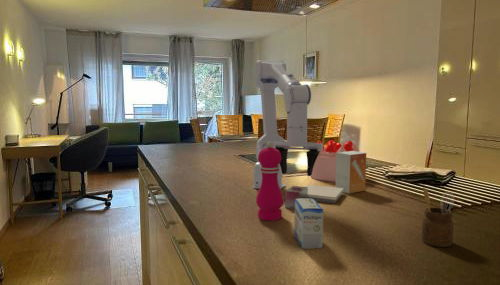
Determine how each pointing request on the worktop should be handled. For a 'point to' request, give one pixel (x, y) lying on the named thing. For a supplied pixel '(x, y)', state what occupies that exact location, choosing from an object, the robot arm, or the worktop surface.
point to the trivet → (324, 193)
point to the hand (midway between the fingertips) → (296, 174)
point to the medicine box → (308, 223)
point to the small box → (351, 171)
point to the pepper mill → (269, 185)
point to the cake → (330, 160)
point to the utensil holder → (437, 224)
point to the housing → (295, 195)
